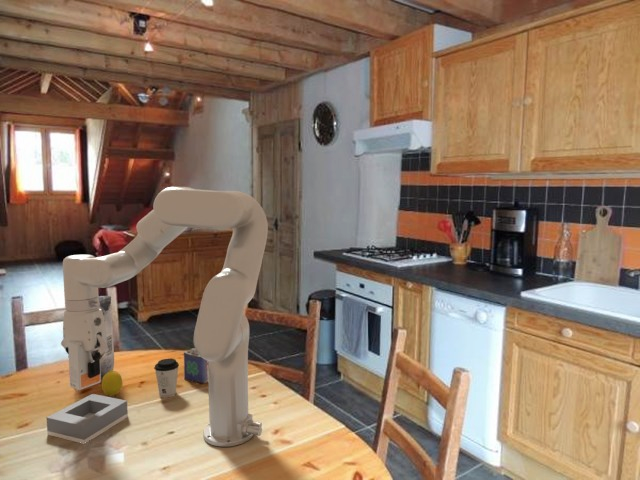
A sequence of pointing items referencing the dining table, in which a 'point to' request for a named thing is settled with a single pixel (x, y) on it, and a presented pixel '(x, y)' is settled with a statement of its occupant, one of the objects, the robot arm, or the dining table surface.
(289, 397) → the dining table surface
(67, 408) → the socket plate
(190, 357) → the flask
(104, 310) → the juice carton
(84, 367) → the skincare box
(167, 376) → the coffee cup
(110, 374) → the lemon
